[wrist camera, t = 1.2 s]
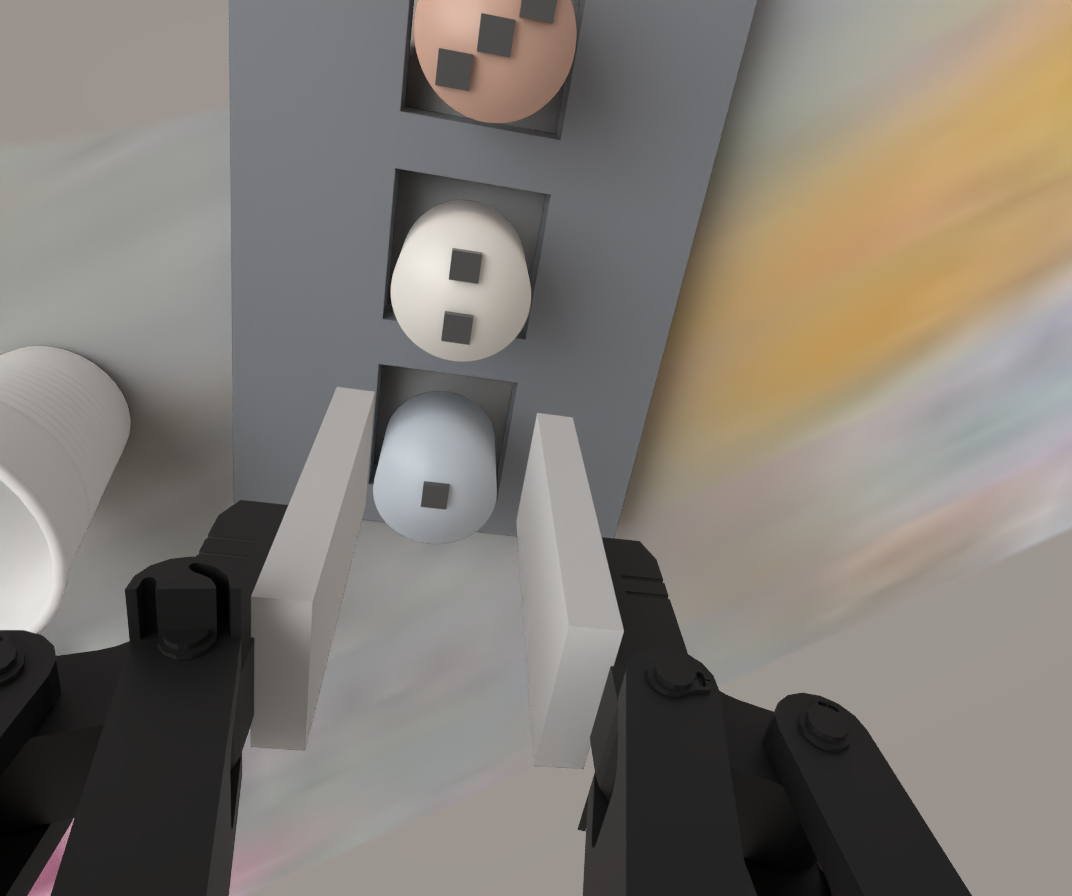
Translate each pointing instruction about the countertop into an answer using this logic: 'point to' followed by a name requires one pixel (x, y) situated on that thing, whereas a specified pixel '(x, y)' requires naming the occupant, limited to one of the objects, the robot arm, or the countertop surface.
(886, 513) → the countertop surface
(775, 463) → the countertop surface
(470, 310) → the button two
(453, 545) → the countertop surface
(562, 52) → the button three
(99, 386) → the cup
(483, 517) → the button one
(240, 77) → the console
